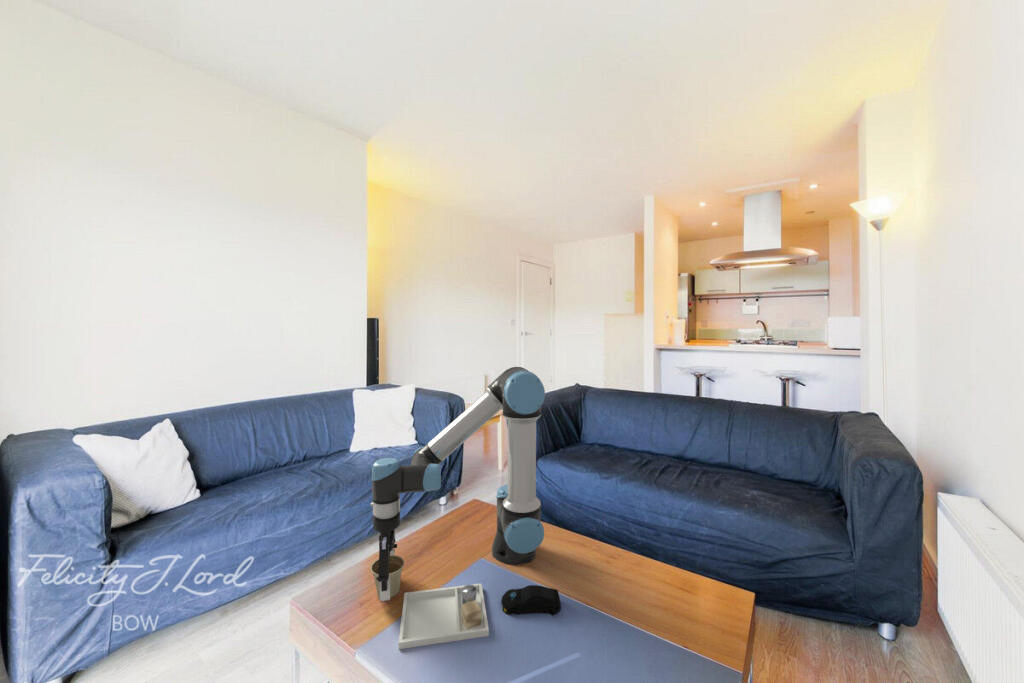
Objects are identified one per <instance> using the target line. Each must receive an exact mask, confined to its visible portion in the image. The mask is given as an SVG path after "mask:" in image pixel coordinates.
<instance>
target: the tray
mask: <svg viewBox="0 0 1024 683" xmlns="http://www.w3.org/2000/svg"><path fill="white" fill-rule="evenodd" d="M466 585H467V584H466ZM466 585H459V586H458V585H457V586H451V587H450V586H449V587H442V588H441V587H440V588H433V589H425V590H418V591H416V590H415V591H408V592H407V591H406V592H404V595H403V602H402V604H403V605H402V612H401V613H402V614H401V619H400V627H399V628H400V629H399V635H398V636H399V637H398V644H397V645H398V650H403V649H404V650H405V649H410V648H417V647H423V646H425V647H426V646H430V645H437V644H444V643H449V642H457V641H465V640H470V639H471V640H472V639H478V638H485V637H489V636H490V628H489V622H488V617H487V610H486V604H485V598H484V597H485V596H484V592H483V591H484V590H483V584H482V583H481V582H480V583H473V584H471V585H473V586H475V587H476V602H477V604H478V605H479V607H480V609H481V625H478V626H476V627H473V628H470V629H467V630H466V627H465V625H464V623H463V621H462V609H461V605H462V588H463V587H464V586H466Z"/></svg>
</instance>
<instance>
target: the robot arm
mask: <svg viewBox="0 0 1024 683" xmlns="http://www.w3.org/2000/svg"><path fill="white" fill-rule="evenodd" d="M545 390H546V389H545V386H544V384H543V382H542V380H541V379H540V377H538V375H536V374H535V373H533V372H532V371H529V370H528V369H526V368H524V367H523V366H522V367H521V366H512V367H509V368H506V370H504V371H503V372H502V373H501V374H500V375H499V376H497V378H495V379H494V380H493V381H492V382H491V383H490V384H489V385H488V386H486V391H485V392H484V393H483V394H482V395H481V396H479V398H477V400H475V401H474V402H473V403H472V404H471V405H470V406H469V407H467V408H466V409H465V410H464V411H462V412H461V414H459V415H458V416H457V417H456V418H455V419H454V420H453V421H451V423H449V424H448V425H447V426H446V427H445V428H443V429H442V430H441V431H440V432H439V433H438V434H437V435H435V436H434V437H433V438H432V439H431V440H430V441H429V442H427V443H426V444H425V445H424V446H421V447H419V448H417V449H416V450H415V451H414V452H413V455H412V456H411V463H410V465H400V462H399V459H397V458H395V457H394V458H393V457H392V458H391V457H384V458H380V459H378V460H376V461H375V462H373V464H372V466H371V467H372V468H371V470H372V472H371V493H372V494H371V495H372V502H371V503H370V507H372V515H373V516H372V527H373V530H374V531H376V532H379V535H378V541H379V543H378V545H379V546H378V548H379V549H378V559H379V574H378V577H376V580H378V582H379V586H380V598H379V602H385V601H390V600H391V598H390V576H389V565H390V555H395V556H396V549H397V548H398V543H396V542H397V541H396V534H395V533H396V532H395V530H396V529H398V527H400V525H401V513H400V510H401V500H400V499H401V497H400V494H405V493H419V492H420V493H421V492H426V493H428V492H433V491H434V492H435V491H438V490H440V488H441V487H442V485H441V483H442V482H441V481H442V480H441V479H442V475H441V472H442V471H441V470H442V469H441V463H442V462H443V461H444V460H445V459H446V458H448V457H449V456H450V455H452V454H453V453H454V451H455V450H457V449H458V448H460V446H461V445H463V444H464V443H465V442H466V441H467V440H468V439H470V438H471V437H472V436H473V435H474V434H475V433H476V432H478V431H479V430H480V429H481V428H482V427H483V426H484V425H486V423H487V422H489V421H490V420H491V419H492V418H493V417H494V416H496V414H498V413H499V412H500V411H501V410H502V416H503V418H505V419H506V421H507V484H503V485H501V486H499V487H498V488H497V490H496V496H495V498H496V532H495V535H494V538H493V542H492V545H491V556H492V557H493V558H494V559H495V560H497V561H498V562H500V563H503V564H505V565H515V566H516V565H521V564H526V563H527V564H528V563H530V562H532V561H533V560H534V559H535V557H536V555H537V548H539V547H540V546H541V544H542V543H543V541H544V539H545V528H544V525H543V523H542V521H541V520H542V518H541V517H542V516H541V515H542V514H541V513H542V510H541V508H542V506H541V504H542V502H541V500H540V499H539V498H538V497H537V496H536V495H537V491H536V490H537V485H536V484H537V465H536V464H537V420H538V419H539V418H541V416H542V405H543V404H544V402H545V401H544V400H545V397H546V391H545Z"/></svg>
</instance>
